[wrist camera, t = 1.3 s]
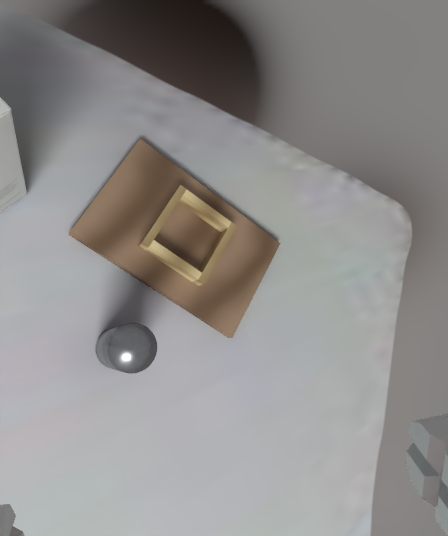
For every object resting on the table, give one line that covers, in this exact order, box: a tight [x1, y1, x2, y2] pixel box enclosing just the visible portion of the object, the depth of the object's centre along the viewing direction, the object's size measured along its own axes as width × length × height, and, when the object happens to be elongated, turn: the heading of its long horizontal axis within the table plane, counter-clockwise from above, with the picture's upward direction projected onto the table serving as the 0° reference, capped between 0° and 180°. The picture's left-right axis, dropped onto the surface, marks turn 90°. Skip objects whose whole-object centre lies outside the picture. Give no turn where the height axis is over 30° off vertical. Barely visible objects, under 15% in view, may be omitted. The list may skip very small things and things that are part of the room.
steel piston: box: [96, 323, 157, 373], centre depth 37 cm, size 4×4×8 cm
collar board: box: [69, 139, 280, 338], centre depth 44 cm, size 20×13×3 cm, turn 61°
